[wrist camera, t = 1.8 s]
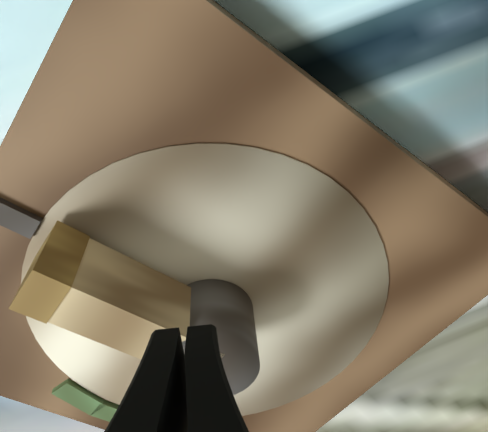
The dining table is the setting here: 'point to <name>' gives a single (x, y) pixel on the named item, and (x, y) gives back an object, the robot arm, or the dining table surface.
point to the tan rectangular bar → (133, 302)
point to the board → (226, 210)
